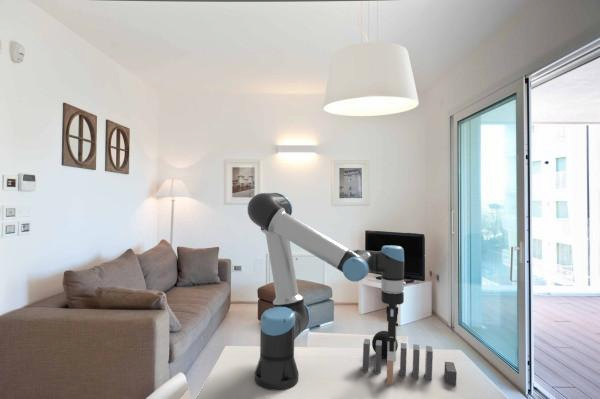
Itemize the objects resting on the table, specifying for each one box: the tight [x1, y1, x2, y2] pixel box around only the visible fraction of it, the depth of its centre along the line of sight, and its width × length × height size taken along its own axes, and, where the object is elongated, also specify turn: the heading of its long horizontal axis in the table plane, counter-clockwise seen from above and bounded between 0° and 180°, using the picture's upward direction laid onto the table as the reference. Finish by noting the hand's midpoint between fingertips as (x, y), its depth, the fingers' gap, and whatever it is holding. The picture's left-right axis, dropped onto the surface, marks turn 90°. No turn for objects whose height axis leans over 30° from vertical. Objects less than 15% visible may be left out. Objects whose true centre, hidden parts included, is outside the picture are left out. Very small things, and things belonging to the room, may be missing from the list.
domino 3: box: [386, 359, 394, 385], centre depth 137 cm, size 2×5×10 cm, turn 166°
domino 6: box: [424, 345, 434, 381], centre depth 141 cm, size 2×5×10 cm, turn 166°
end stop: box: [443, 361, 457, 386], centre depth 139 cm, size 3×8×4 cm, turn 166°
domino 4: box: [399, 342, 408, 377], centre depth 143 cm, size 2×5×10 cm, turn 166°
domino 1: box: [362, 338, 371, 372], centre depth 146 cm, size 2×5×10 cm, turn 166°
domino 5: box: [411, 343, 420, 379], centre depth 142 cm, size 2×5×10 cm, turn 166°
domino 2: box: [374, 340, 383, 374], centre depth 145 cm, size 2×5×10 cm, turn 166°
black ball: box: [371, 330, 399, 359], centre depth 157 cm, size 10×10×10 cm
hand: (391, 352), depth 136 cm, fingers open, 13 cm apart
